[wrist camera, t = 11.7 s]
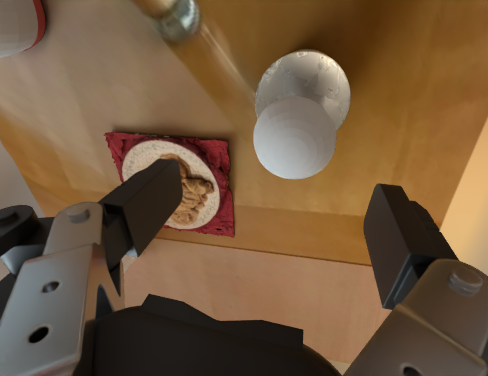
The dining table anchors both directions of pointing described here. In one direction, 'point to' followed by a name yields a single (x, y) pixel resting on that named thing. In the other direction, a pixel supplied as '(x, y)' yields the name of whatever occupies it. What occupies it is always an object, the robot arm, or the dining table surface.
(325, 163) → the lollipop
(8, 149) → the dining table surface
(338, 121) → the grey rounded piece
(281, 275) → the dining table surface
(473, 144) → the dining table surface
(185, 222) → the plate with food
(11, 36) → the citrus juicer
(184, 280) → the dining table surface
